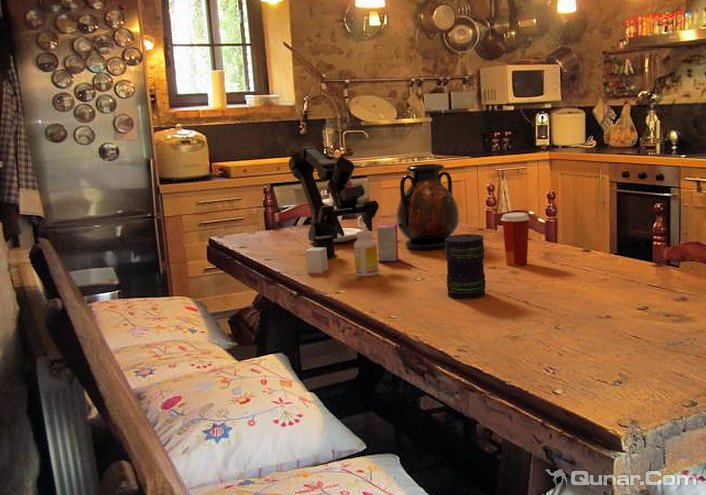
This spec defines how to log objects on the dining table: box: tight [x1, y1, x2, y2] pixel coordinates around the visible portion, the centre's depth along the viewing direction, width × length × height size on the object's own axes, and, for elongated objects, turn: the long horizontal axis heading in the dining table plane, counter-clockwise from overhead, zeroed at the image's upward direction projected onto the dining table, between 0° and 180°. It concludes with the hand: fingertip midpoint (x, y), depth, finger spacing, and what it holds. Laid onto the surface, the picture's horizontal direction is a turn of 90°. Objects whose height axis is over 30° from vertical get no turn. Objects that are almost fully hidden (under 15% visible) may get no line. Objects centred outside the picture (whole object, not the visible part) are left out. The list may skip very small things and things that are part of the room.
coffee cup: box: [500, 212, 530, 267], centre depth 226 cm, size 8×8×15 cm
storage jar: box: [444, 233, 486, 301], centre depth 194 cm, size 10×10×15 cm
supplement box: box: [376, 224, 399, 264], centre depth 244 cm, size 6×6×12 cm
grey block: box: [305, 247, 329, 274], centre depth 236 cm, size 5×5×7 cm
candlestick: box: [322, 181, 367, 243], centre depth 286 cm, size 21×25×28 cm
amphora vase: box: [396, 163, 460, 251], centre depth 262 cm, size 22×22×28 cm
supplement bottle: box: [353, 230, 379, 278], centre depth 226 cm, size 7×7×13 cm
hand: (357, 233), depth 229 cm, fingers open, 9 cm apart
